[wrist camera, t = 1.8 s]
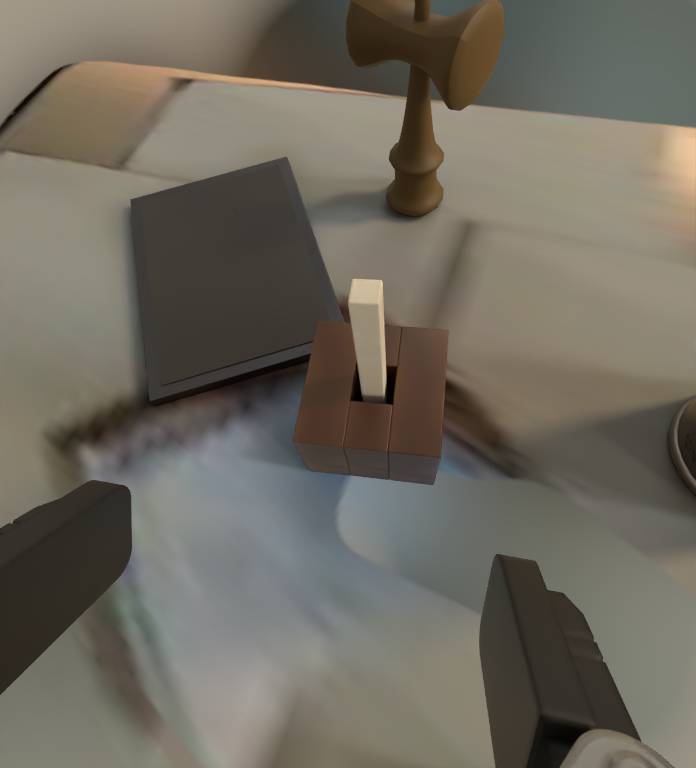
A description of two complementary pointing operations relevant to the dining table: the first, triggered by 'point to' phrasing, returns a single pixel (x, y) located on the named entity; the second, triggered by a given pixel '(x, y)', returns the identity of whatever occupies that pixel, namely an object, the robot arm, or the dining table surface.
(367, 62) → the kendama
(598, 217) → the dining table surface
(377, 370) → the stylus
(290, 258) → the tablet
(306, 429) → the pen stand
